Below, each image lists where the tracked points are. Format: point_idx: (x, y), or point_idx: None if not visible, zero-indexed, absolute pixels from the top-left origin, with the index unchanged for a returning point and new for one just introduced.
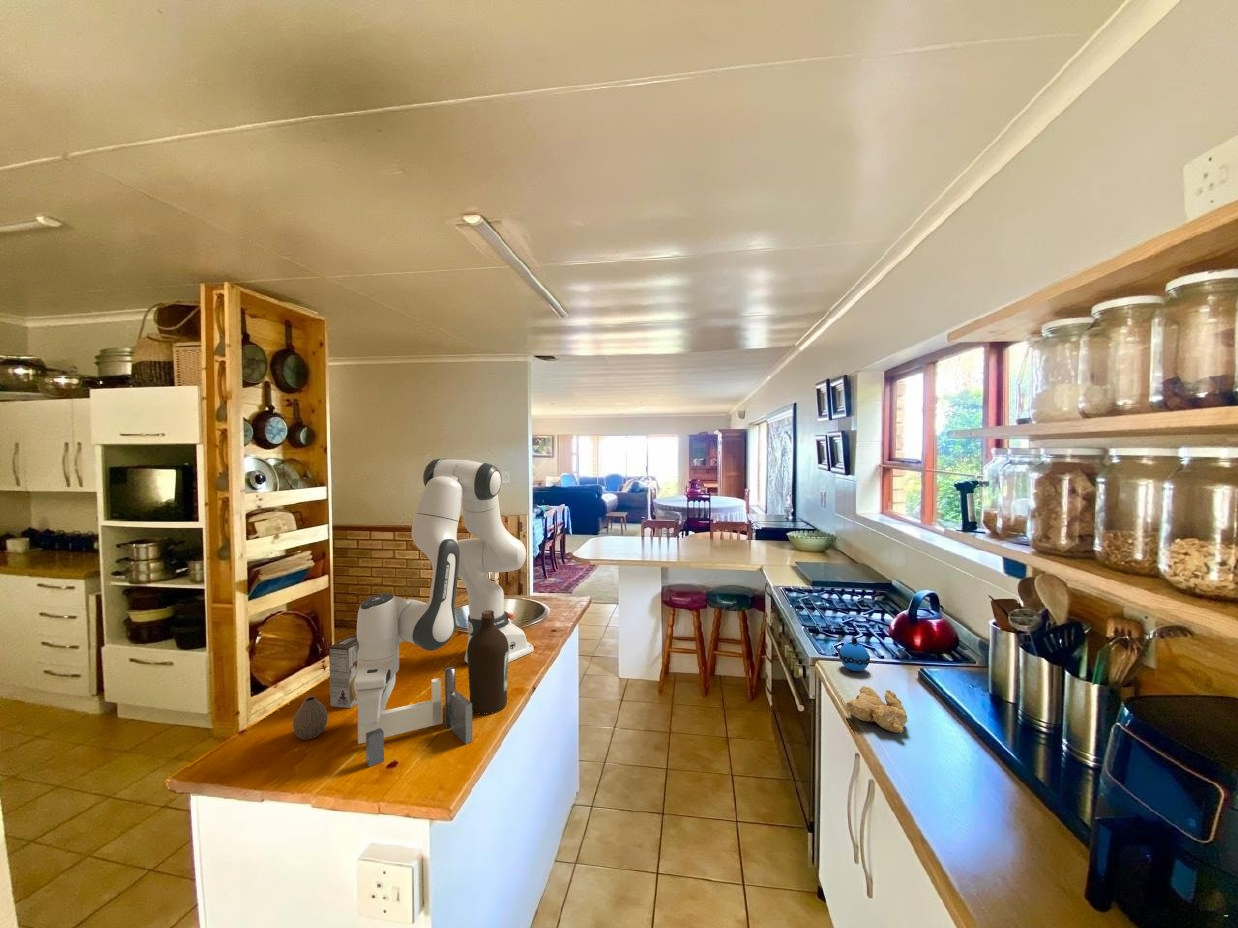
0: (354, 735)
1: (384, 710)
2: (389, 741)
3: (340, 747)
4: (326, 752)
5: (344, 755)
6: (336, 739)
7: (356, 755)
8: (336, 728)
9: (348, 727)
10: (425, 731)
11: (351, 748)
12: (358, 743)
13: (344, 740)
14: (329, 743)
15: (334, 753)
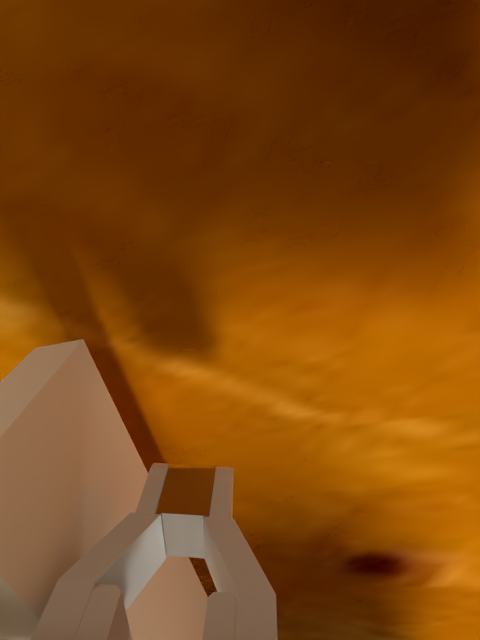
0: (264, 257)
1: (216, 585)
2: (140, 455)
3: (110, 193)
4: (46, 91)
5: (7, 251)
6: (242, 120)
7: (9, 324)
8: (462, 51)
9: (423, 175)
10: (201, 565)
11: (89, 277)
12: (35, 351)
13: (208, 198)
14: (187, 69)
15: (31, 169)
